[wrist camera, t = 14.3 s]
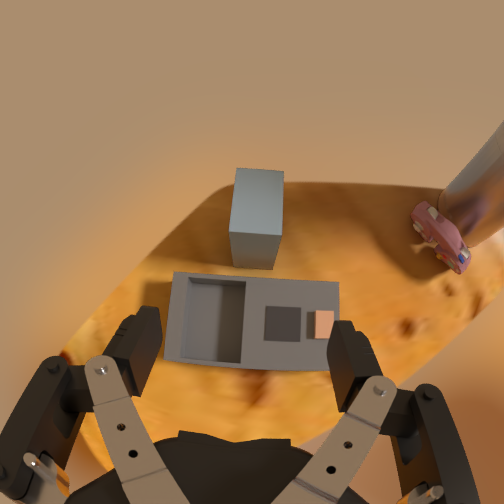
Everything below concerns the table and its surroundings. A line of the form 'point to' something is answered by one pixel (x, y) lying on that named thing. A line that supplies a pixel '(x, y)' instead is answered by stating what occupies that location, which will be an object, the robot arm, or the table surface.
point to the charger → (256, 218)
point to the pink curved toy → (441, 236)
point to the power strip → (250, 322)
